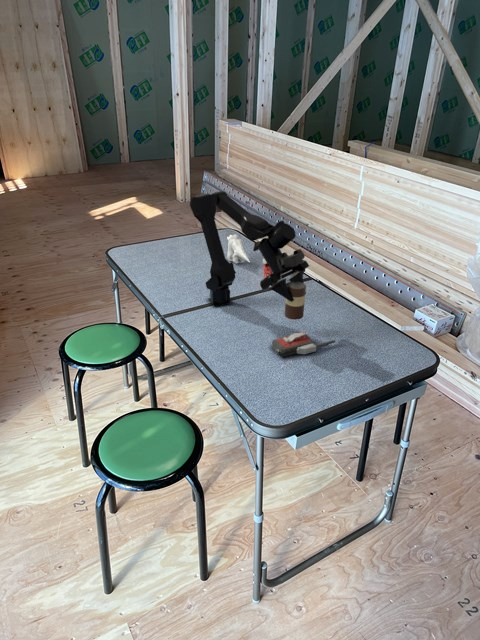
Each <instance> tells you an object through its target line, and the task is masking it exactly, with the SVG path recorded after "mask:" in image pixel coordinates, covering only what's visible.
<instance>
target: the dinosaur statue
mask: <svg viewBox="0 0 480 640" xmlns="http://www.w3.org/2000/svg"><path fill="white" fill-rule="evenodd" d="M226 239H227V242H228V244H227V253H226V255H227V261H228V262H229V261H230V262H232V263H233V264H239V261H240V262H241V263H245V262H248V263H251V261H250V259H249V257H248V254H247V253H246V250H245V248H244V247H243V240H242V239H241V238H240V236H239V235H237V234H236V233H234V234H229V236H226Z"/></svg>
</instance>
